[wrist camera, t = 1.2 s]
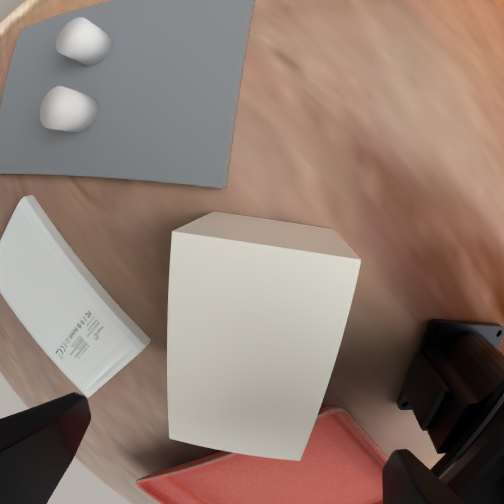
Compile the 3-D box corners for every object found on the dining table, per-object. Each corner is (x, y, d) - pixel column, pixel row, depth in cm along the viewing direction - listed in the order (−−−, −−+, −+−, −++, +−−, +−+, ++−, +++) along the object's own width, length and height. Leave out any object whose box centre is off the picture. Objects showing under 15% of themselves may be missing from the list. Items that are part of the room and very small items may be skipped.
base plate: (255, -3, 13) (247, -38, 9) (226, 187, 15) (209, 190, 12) (28, 32, 14) (-1, 21, 10) (2, 172, 16) (-33, 175, 13)
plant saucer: (334, 372, 17) (341, 406, 14) (421, 481, 20) (429, 505, 16) (143, 456, 21) (130, 482, 18) (265, 535, 24) (263, 558, 20)
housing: (213, 211, 16) (172, 231, 10) (333, 229, 15) (361, 260, 9) (199, 370, 18) (169, 438, 12) (298, 386, 17) (300, 461, 12)
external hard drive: (37, 193, 17) (154, 336, 18) (-1, 268, 19) (95, 388, 20) (21, 195, 15) (144, 349, 17) (-14, 274, 17) (85, 400, 18)
